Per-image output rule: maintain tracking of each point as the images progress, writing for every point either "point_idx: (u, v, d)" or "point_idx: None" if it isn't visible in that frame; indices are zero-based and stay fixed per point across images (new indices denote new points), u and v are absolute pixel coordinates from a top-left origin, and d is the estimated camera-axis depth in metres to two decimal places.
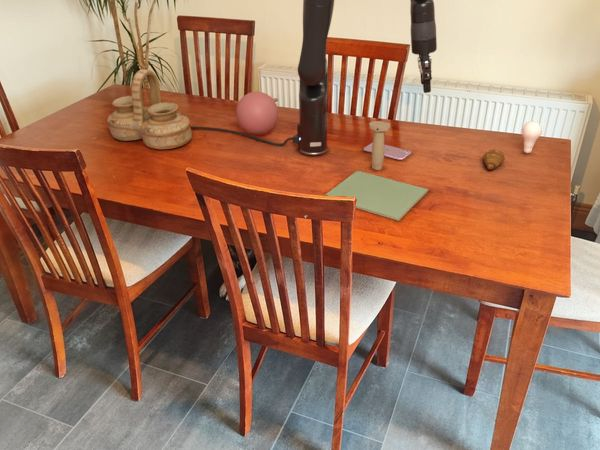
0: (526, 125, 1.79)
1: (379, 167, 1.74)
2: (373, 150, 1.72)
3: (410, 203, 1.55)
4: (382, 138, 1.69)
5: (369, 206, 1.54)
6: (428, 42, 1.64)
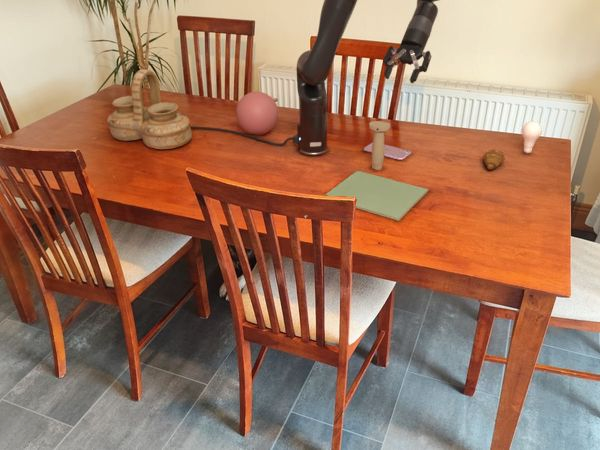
0: (526, 125, 1.79)
1: (379, 167, 1.74)
2: (373, 150, 1.72)
3: (410, 203, 1.55)
4: (382, 138, 1.69)
5: (369, 206, 1.54)
6: (426, 41, 1.72)
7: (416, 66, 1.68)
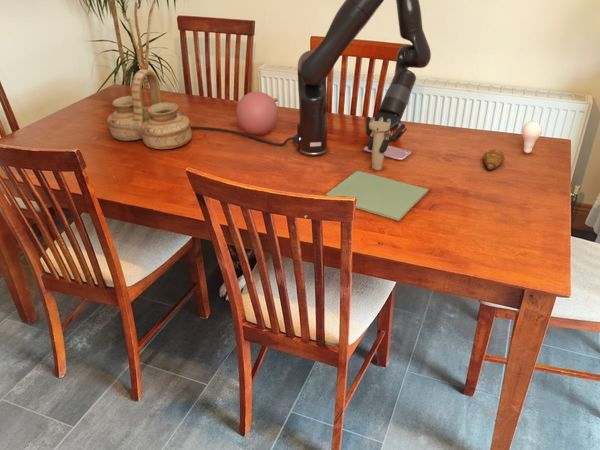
0: (526, 125, 1.79)
1: (379, 167, 1.74)
2: (373, 150, 1.72)
3: (410, 203, 1.55)
4: (382, 138, 1.69)
5: (369, 206, 1.54)
6: (404, 109, 1.72)
7: (386, 137, 1.70)
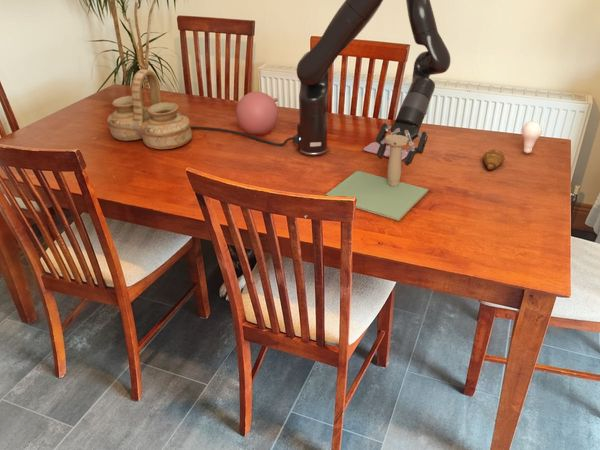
0: (526, 125, 1.79)
1: (396, 183, 1.63)
2: (389, 165, 1.60)
3: (410, 203, 1.55)
4: (399, 153, 1.58)
5: (369, 206, 1.54)
6: None
7: (411, 148, 1.57)
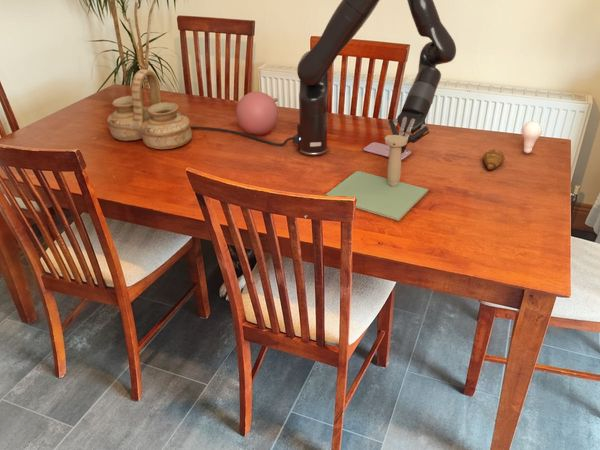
0: (526, 125, 1.79)
1: (396, 183, 1.63)
2: (389, 166, 1.60)
3: (410, 203, 1.55)
4: (399, 153, 1.57)
5: (369, 206, 1.54)
6: (429, 108, 1.62)
7: None
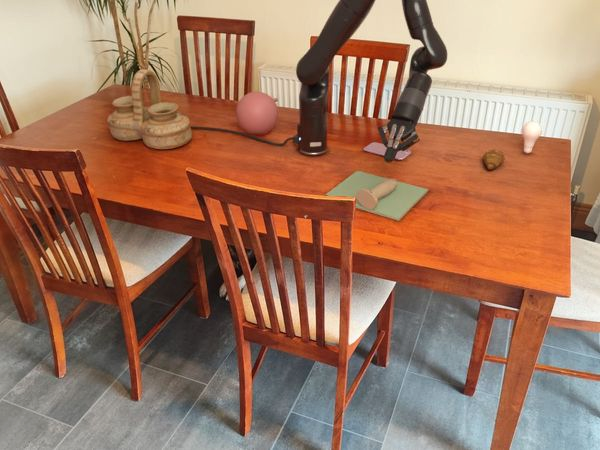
0: (526, 125, 1.79)
1: None
2: None
3: (410, 203, 1.55)
4: None
5: None
6: (419, 115, 1.57)
7: (394, 145, 1.55)
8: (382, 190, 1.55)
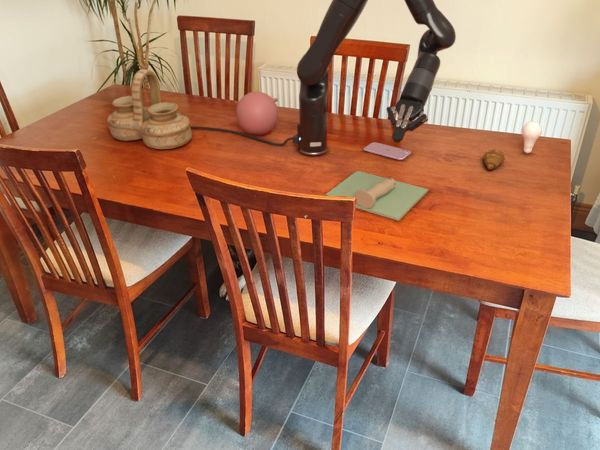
0: (526, 125, 1.79)
1: None
2: None
3: (410, 203, 1.55)
4: (375, 199, 1.55)
5: None
6: None
7: (402, 125, 1.56)
8: (379, 188, 1.55)
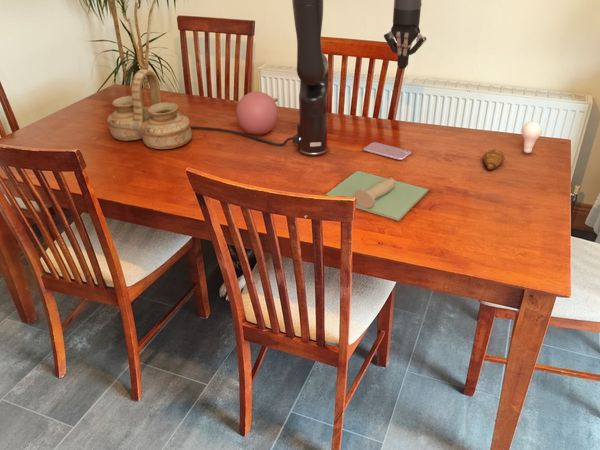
0: (526, 125, 1.79)
1: (392, 187, 1.61)
2: None
3: (410, 203, 1.55)
4: (375, 198, 1.55)
5: None
6: None
7: (403, 53, 1.60)
8: (378, 188, 1.55)
